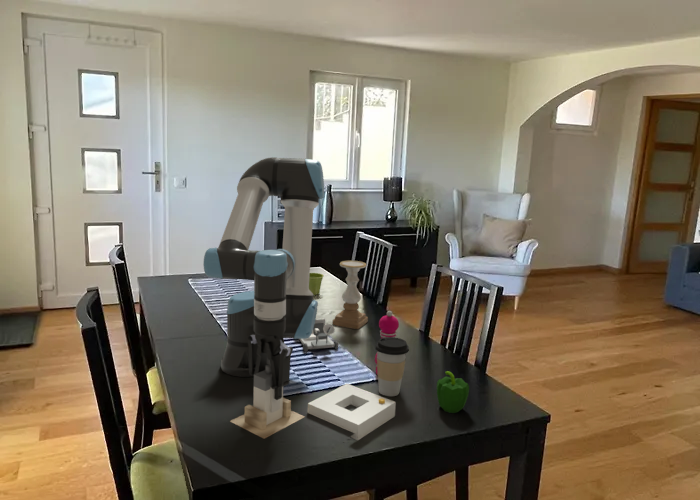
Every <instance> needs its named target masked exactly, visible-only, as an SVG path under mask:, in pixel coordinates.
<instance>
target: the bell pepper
mask: <svg viewBox="0 0 700 500" xmlns="http://www.w3.org/2000/svg"><path fill="white" fill-rule="evenodd" d="M445 375H446V376H444V377H443V378H439V379H438V380H437V382H436V396H437V401H438V405H439V406H440V408H442V410H443V411H444V412H446V413H449V414H456V413H459V412H460V411H461V410H463V409H464V407H465V405H466V403H467V400H468V397H469V393H470V385H469V383H467V382H465V380H464V379H463V378H461V377H460V378H458V377H457V378H455V375H454V374H453V373H452V372H451V371H450V370H449V371H448V370H447V371H445Z"/></svg>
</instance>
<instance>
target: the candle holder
mask: <svg viewBox="0 0 700 500" xmlns="http://www.w3.org/2000/svg"><path fill="white" fill-rule="evenodd" d="M339 266H340V267H341V268H344V269H345V270H346V272H347V277H346V278H345V281H346V283H347V286H346V289H345V290H343V293H342V296H341V300H342V301H343V302H344V303H343V305H342V307H343V310H341V311H340V312H339V313H337V314H336V315H335V317H334V319H332V323H331V325H333V326H336V327H341V328H346V329H347V328H348V329H352V330H360V329H361V328H362V327H363V326H364V325H366V324H367V323H368V321H369V317H368V316H366V313H364V312H361V311H359V307H360V305H359V304H358V303H360V301H361V299H362V295H361V293H360V291H359V289H358V288H357V285H358V283H359V281H360V279H359V277H358V274H359V273H358V272H359V271H360V270H361V269H365V268H366V267H367V263H366V262H363V261H361V260H359V261H358V260H342V261H340V263H339Z"/></svg>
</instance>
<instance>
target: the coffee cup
mask: <svg viewBox="0 0 700 500" xmlns="http://www.w3.org/2000/svg"><path fill="white" fill-rule="evenodd" d="M375 350H376V353H377V364H376V366H377V373H378V375H377V379H378V380H377V381H378V382H377V383H378V393H379V394H381V395H382V396H386V397H395V396H398V395H399V393H400V391H401V390H400V389H401V385H402V379H403V376H404V372H405V365H406V356H407V353H409V352H410V347H409V345H408V343H407V341H406V340H404V339H402V338H400V337H385V338H381V337H380V338H379V340H378V341H377V343H375Z"/></svg>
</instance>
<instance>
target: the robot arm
mask: <svg viewBox="0 0 700 500" xmlns="http://www.w3.org/2000/svg"><path fill="white" fill-rule="evenodd" d="M323 170H324V169H323V166H322V163H321V162H320V161H319V160H318V159H310V158H295V157H294V158H290V157H289V158H287V157H273V156H272V157H266V158H263V159H260V160H258V161H257V162H255V163H254V164H252V165H251V166H250V167H249V168H248V169H246V170H245V172H244V173H243V174H242V175H241V177H240V178H239V180H238V182H237V183H238V184H237V186H236V191H237V192H236V193H237V197H236V199H235V201H234V205H233V207H232V210H231V212H230V215H229V217H228V221H227V223H226V226H225V229H224V232H223V234H222V237H221V239H220V242H219V244H218V247H211V248H210V247H209V248H207V250H206V251H205V253H204V256H203V270H204V274H205V275H206V276H207V277H208V278H213V279H219V280H223V279H224V280H247V281H254V284H253V290H247V291H243V292H238V293H236V294H234V295H231V296H230V298H229V299H228V300H227V310H226V315H227V316H226V322H227V323H226V334H227V335H226V337H227V338H226V339H227V343H226V347H225V349H224V353H223V356H222V357H221V361H220V363H221V364H220V365H221V367H220V368H221V369H220V370H222V372H223V373H225V374H227V375H230V376H233V377H242V378H244V377H245V378H249V377H254V374H256V373H259V372H261V371H264V370H265V369H266V365H267V364H270V366H271V374H272V382H273V385H272V386H271V387H270V412H271V413H273V412H275V411H277V410H279V409H280V399H281V398H282V387H283V388H284V387H286V386H287V385H290V375H291V372H290V371H291V356H292V353H293V350H294V349H293V346H290V345H289V346H288V345H287V344H286V343H285V339H293V340H299V339H306V338H309V337H310V336H311V334H312V331H313V328H314V324H315V319H317V312H318V306H319V305H318V304H319V303H318V300H316V299H314V295H313V293H312V292H311V291H310V290H309V273H311V272H310V270H311V256H312V255H311V253H312V240H313V239H312V235H313V223H314V222H313V221H314V219H313V218H314V211H315V209H316V208H317V207H318V206H319V205H320V200H323V199H324V198H325V181H324V172H323ZM270 197H280V203H281V205H282V206H283V207H284V220H283V236H282V237H283V238H282V248H277V249H264V250H252V249H251V250H250V246H251V244H252V240H253V236H254V234H255V230H256V227H257V224H258V221H259V218H260V217H259V216H260V215H261V211H262V208H263V204H264V203H265V202H266V201H267V200H268V198H270Z"/></svg>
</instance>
